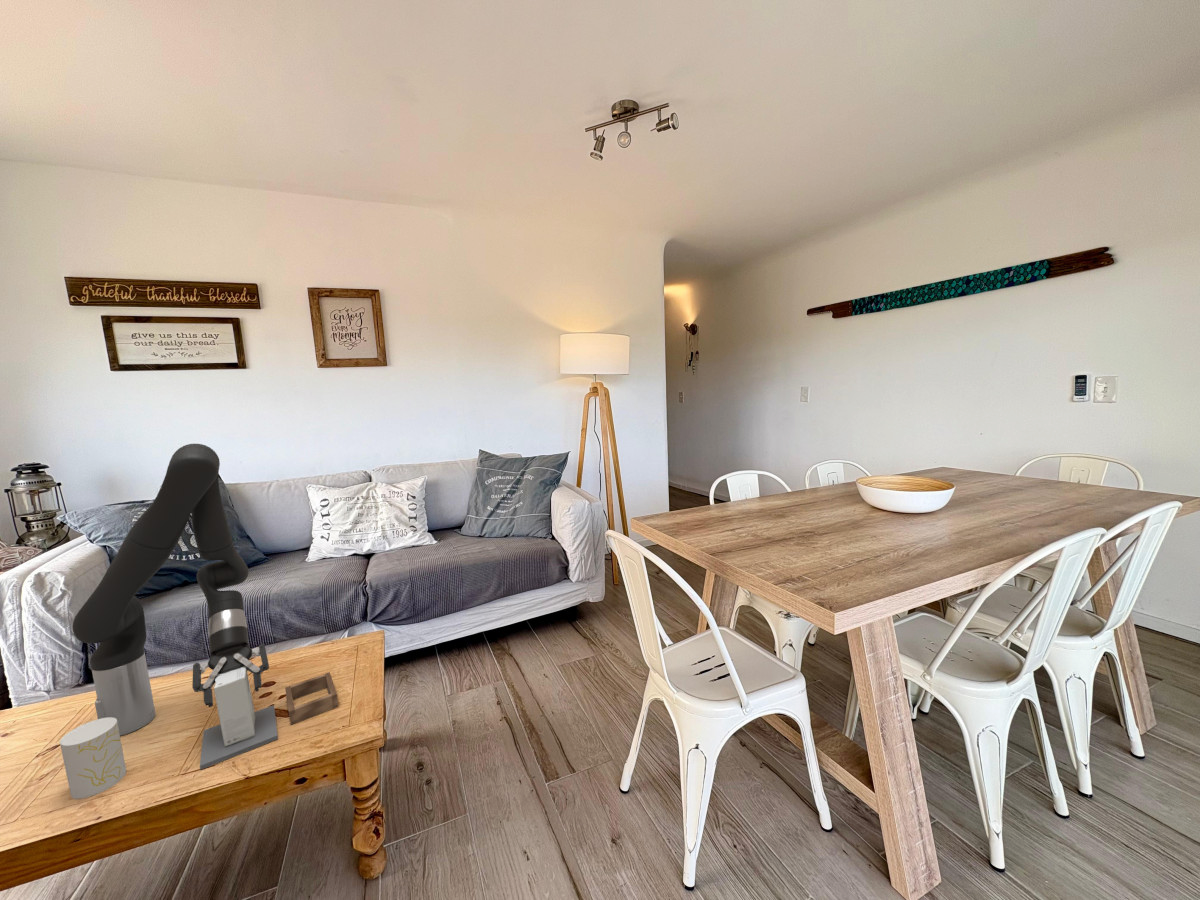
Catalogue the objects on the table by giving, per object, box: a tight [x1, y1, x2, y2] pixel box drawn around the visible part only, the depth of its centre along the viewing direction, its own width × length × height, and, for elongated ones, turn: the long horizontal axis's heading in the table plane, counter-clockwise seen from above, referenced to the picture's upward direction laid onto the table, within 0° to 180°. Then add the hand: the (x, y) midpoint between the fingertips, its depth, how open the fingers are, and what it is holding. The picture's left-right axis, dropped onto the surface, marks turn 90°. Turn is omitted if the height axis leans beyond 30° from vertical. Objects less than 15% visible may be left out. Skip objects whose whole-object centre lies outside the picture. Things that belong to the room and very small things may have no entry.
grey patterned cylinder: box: [59, 717, 127, 800], centre depth 99 cm, size 8×8×12 cm
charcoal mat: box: [199, 704, 279, 771], centre depth 112 cm, size 14×14×1 cm
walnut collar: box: [284, 672, 339, 726], centre depth 123 cm, size 10×12×4 cm
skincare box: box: [213, 666, 256, 746], centre depth 111 cm, size 8×6×15 cm
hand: (234, 697), depth 109 cm, fingers open, 8 cm apart
